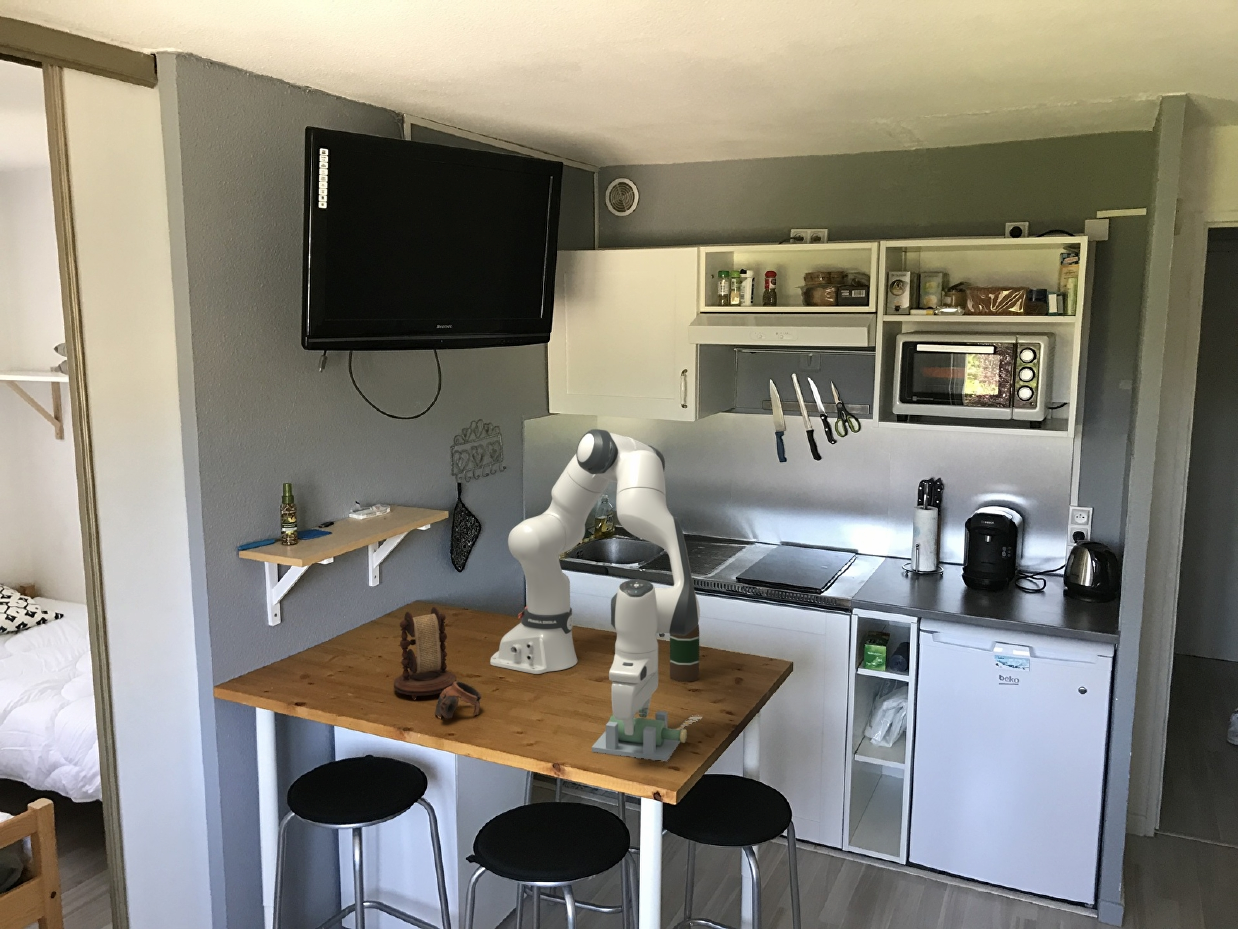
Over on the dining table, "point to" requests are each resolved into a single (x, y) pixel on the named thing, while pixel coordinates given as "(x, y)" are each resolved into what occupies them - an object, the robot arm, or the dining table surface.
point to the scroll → (424, 656)
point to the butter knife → (690, 721)
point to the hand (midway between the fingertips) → (637, 724)
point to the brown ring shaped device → (450, 700)
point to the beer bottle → (684, 656)
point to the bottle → (641, 723)
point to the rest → (639, 750)
